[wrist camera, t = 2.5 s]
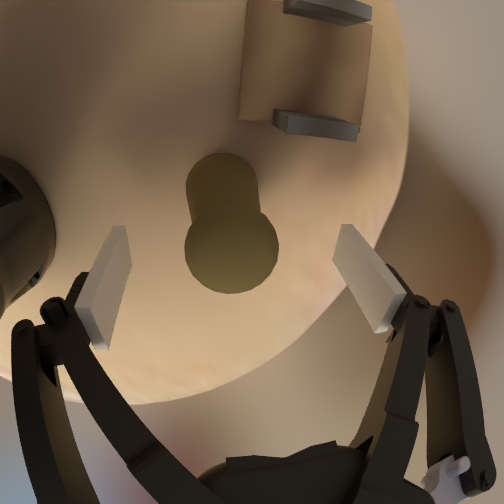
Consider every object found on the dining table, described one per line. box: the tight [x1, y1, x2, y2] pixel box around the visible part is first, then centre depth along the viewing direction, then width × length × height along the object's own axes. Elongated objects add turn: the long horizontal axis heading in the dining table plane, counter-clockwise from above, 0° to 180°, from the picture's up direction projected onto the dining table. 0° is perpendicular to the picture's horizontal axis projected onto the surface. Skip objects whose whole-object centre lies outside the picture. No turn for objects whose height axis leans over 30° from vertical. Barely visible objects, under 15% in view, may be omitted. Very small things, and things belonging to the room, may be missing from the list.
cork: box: [185, 154, 279, 294], centre depth 19 cm, size 6×6×11 cm
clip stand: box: [238, 0, 372, 142], centre depth 16 cm, size 10×10×5 cm
